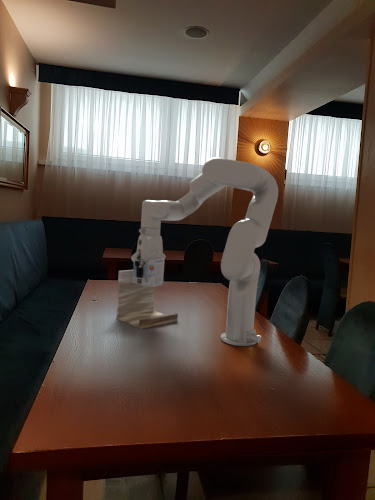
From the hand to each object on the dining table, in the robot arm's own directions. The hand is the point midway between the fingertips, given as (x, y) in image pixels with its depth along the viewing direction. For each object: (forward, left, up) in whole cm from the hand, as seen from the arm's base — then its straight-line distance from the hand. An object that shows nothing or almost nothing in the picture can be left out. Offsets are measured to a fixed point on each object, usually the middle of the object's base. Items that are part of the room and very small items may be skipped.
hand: (148, 276), depth 151 cm
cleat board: (-1, 0, -17) cm, 17 cm away
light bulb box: (0, 0, -3) cm, 3 cm away
